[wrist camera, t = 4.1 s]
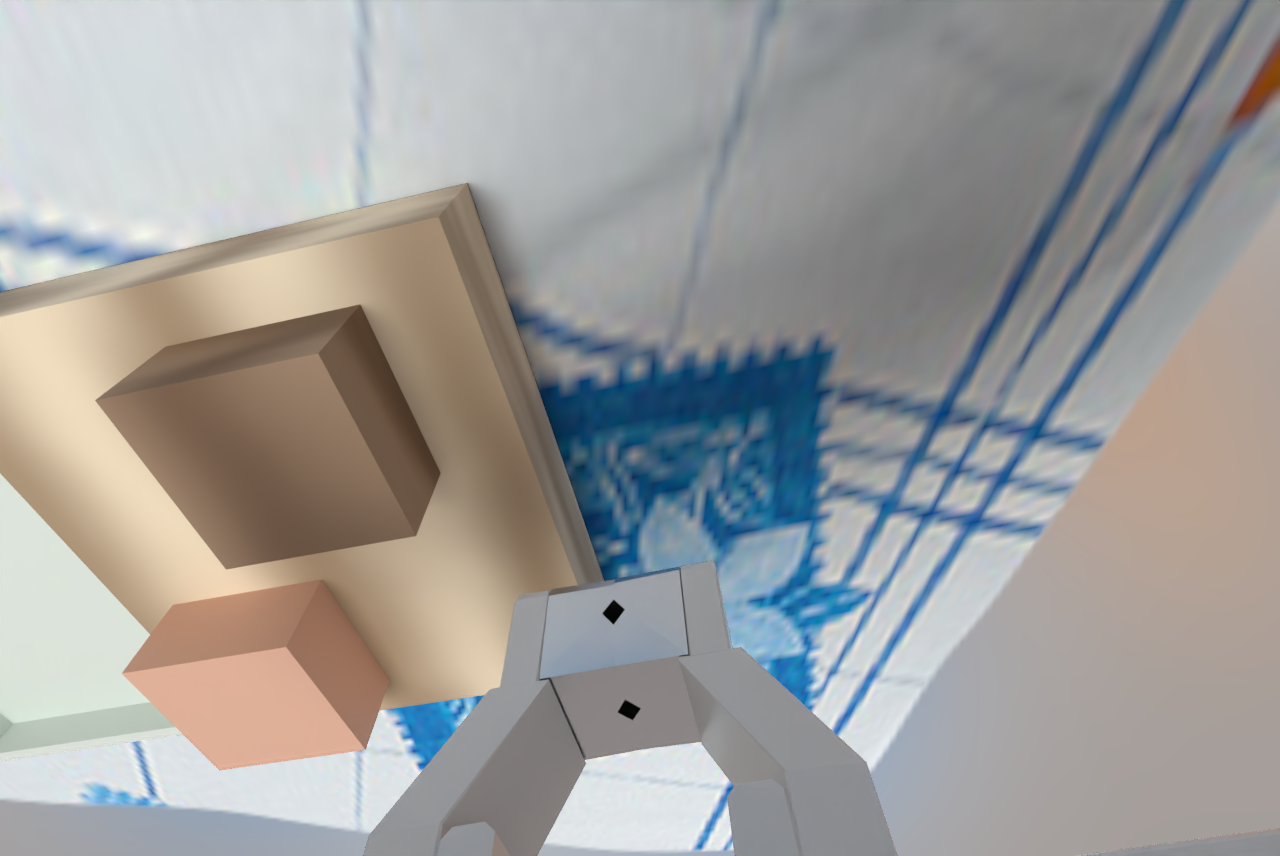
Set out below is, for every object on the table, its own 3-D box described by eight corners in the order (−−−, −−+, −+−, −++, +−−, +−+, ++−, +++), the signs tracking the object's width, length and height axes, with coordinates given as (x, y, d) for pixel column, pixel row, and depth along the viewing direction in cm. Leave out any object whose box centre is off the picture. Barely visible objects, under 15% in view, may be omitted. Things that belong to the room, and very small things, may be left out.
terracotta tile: (321, 579, 20) (286, 647, 18) (389, 680, 23) (365, 749, 21) (172, 605, 21) (121, 673, 19) (256, 700, 23) (219, 770, 21)
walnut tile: (360, 304, 15) (317, 353, 13) (440, 473, 18) (416, 535, 16) (164, 346, 16) (95, 400, 14) (271, 504, 19) (225, 569, 17)
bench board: (467, 183, 17) (438, 216, 14) (614, 608, 25) (612, 676, 23) (-18, 296, 18) (-120, 344, 16) (276, 662, 27) (239, 731, 24)
